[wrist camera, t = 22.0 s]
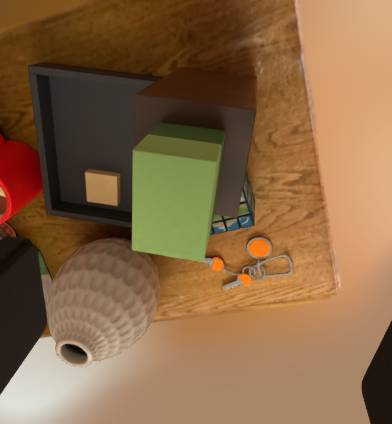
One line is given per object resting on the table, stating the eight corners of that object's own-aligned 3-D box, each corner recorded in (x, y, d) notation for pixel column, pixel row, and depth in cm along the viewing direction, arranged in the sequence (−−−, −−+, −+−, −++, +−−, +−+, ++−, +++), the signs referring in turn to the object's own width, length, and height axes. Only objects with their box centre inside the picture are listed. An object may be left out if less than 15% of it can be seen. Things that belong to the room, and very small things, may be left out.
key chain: (283, 231, 44) (284, 234, 43) (296, 277, 47) (296, 281, 46) (188, 250, 48) (187, 254, 47) (205, 292, 51) (204, 296, 50)
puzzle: (192, 169, 42) (183, 190, 37) (241, 156, 41) (239, 175, 35) (208, 212, 45) (202, 237, 40) (255, 201, 43) (254, 226, 38)
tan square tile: (88, 168, 44) (84, 172, 43) (120, 172, 43) (117, 176, 42) (90, 197, 46) (86, 201, 45) (120, 201, 45) (117, 206, 44)
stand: (180, 67, 37) (134, 93, 23) (256, 76, 37) (256, 109, 23) (175, 141, 41) (133, 202, 27) (244, 150, 40) (237, 218, 26)
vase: (185, 283, 51) (156, 388, 36) (110, 301, 55) (56, 402, 40) (146, 207, 46) (94, 293, 31) (66, 233, 50) (-13, 319, 35)
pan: (43, 62, 39) (27, 65, 36) (164, 77, 38) (156, 81, 35) (58, 203, 48) (46, 214, 45) (157, 219, 46) (150, 231, 44)
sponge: (159, 121, 24) (131, 149, 19) (225, 130, 23) (216, 161, 18) (155, 206, 27) (131, 250, 22) (214, 215, 27) (203, 262, 21)
